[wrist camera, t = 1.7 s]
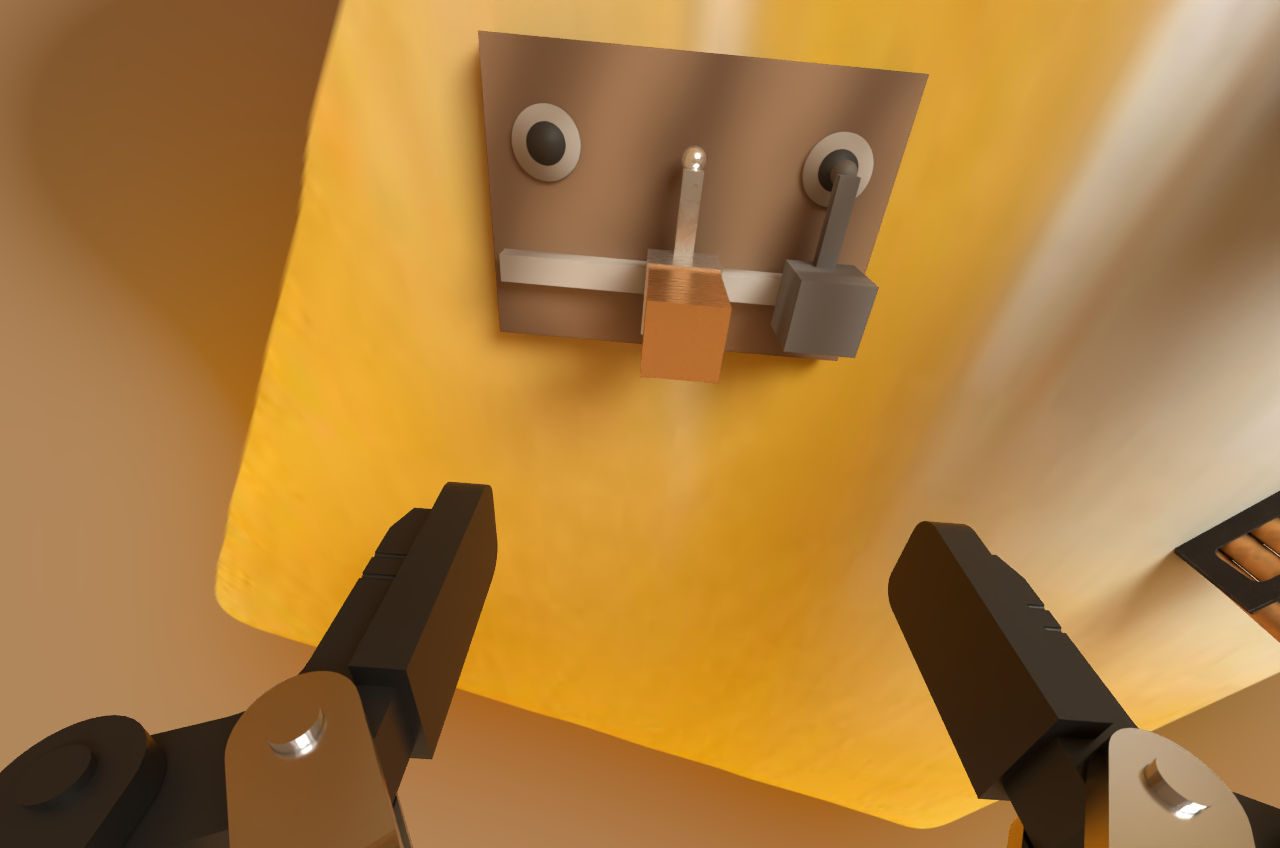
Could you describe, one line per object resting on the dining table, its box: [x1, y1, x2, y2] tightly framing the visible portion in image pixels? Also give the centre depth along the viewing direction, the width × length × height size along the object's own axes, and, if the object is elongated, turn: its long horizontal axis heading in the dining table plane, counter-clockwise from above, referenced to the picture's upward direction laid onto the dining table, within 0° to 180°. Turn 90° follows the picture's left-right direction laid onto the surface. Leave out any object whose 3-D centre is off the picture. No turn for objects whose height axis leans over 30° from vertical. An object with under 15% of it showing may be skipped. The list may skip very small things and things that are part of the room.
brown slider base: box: [478, 31, 929, 361], centre depth 21 cm, size 17×12×6 cm
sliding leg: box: [640, 145, 732, 383], centre depth 19 cm, size 3×7×7 cm, turn 175°
